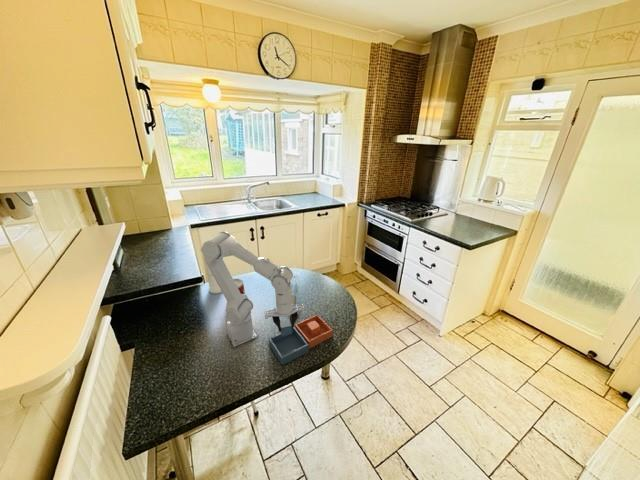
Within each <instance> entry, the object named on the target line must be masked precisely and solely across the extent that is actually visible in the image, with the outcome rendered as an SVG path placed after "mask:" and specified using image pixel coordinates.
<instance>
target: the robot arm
mask: <svg viewBox="0 0 640 480" xmlns="http://www.w3.org/2000/svg"><path fill="white" fill-rule="evenodd" d="M201 247H202V248H201ZM201 247H200V252H201V253H202V256H203V255H204V257H205V262H206V264H207V266H208V267H209V269H210V271H211V273H212V275H213V276H214V278H215V280H216V282H217V284H218V285H219V287H220V289H221V291H222V292H221V293H222V295H223V297H224V298H225V300H226V305H225V312H226V315H227V320H228V321H226V329H227V335H228V338H229V340H230V343H231V344H232V346H233V347H234V348H236V347H238V346H240V345H242V344H244V343H246V342H249V341H252V340H253V339H256V338H257V337H258V334H257V333H256V331H255V330H254V327H253V318H252V310H253V308H254V303H253V302H252V300H251V299H250V298H249V297H248V295H247V294H246V293H245V294H241V293H240V291H239V290H238V288H237V286H236V284H235V282H234V280H233V279H234V278H233V276H232V275H231V272H230V270H229V268H228V267H227V265H226V262H225V260H224V258H227V257H232V256H233V257H235V258H236V259H239V260H240V261H242V262H245V263H247V264H248V265H250V266H253V271H254V272H255V273H256V274H259V275H260V276H262V277H264V278H265V279H266V280H268V281H270V284H271V286H272V287H273V288H274V292H275V295H274V296H275V307H274V308H270V309H268V310H265V311H264V318H265V320H268V319H269V318H272V321H273V323H274V325H276V327H277V329H278V332H279V333H281V327H280V321H281V318H280V317H283V318H284V317H289V315H290V322H291V326H292V329H293V327H295V324H296V321H297V320H298V318H299V314H298V312H302V313H303V312H305V306H304V303H301V304H296V305H293V304H292V295H293V293H291V290H292V286H291V284H292V280H293V278H294V277H293V276H294V273H293V271H292V270H291V269H290V268H289V266H281V265H278V264H276V263H274V262H273V261H271V259H270V258H268V257H264V256H263V257H258V256H257V255H256V254H254V253H253V252H252V251H251V250H249V249H248V248H246V247H245V246H243V245H242V244H241V243H239V242H238V241H237V238H236V237H235V236H233V235H231V234H230V233H229V232H227V231H220V232H218V233H217V234H215V236H212V238H210V239H208V240H206V241H204V243H202V246H201Z"/></svg>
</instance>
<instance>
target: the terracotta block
mask: <svg viewBox="0 0 640 480" xmlns="http://www.w3.org/2000/svg"><path fill="white" fill-rule="evenodd" d="M307 332H308V333H309V335H310V336H311V337H314V336H316V335H318V334H320V325H319V324H318V323H317V322H316V321H312V322H310V323H308V324H307Z"/></svg>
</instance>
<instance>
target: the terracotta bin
mask: <svg viewBox="0 0 640 480" xmlns="http://www.w3.org/2000/svg"><path fill="white" fill-rule="evenodd" d="M312 321H316V322H317V323H318V324H319V325H320V334H318V335H316V336H314V337H311V336H310V335H309V333H308V332H307V324H308V323H310V322H312ZM294 327H295V328H296V330H297V331H298V332H299V333H300V335H301V336H302V337H303V338H304V340H305V341H306V342H307V343H308V345H309V350H310V349H312V348H313V347H316V346H317V345H319V344H321V343H323V342H325V341H327V340H329V339H330V338H333V333H334V330H333V329H332V328H331V327H330V325H328V324H327V322H326V321H324V319H323V318H321V316H320V315H319V314H318V313H317V314H316V315H314V316H313V315H312V316H311V317H309V318H306V319H304V320H301V321H300V322H298V323H294Z"/></svg>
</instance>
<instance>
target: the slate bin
mask: <svg viewBox="0 0 640 480" xmlns="http://www.w3.org/2000/svg"><path fill="white" fill-rule="evenodd" d="M268 343H269V347H270V348H271V350H272V351H273V353H274V355H275V357H276V358H277V359H278V362H279V363H280V364H281V366H284V365H286V364H288V363H289V362H292V361H294V360H296V359H298V358H299V357H301V356H304V355H305V354H307V353H309V351H310V349H309V345H308V343H307V342H306V341H305V340H304V338H303V337H302V336H301V335H300V333H299V332H298V331H297V330H296V328H295V326H293V329H292V334H289V335H285V336H281V332H279V333H278V334H275V335H274V336H271V337H269V338H268Z"/></svg>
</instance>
